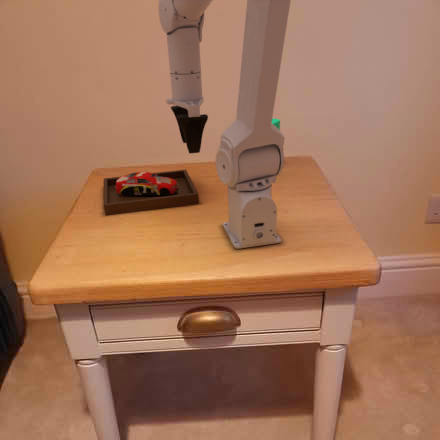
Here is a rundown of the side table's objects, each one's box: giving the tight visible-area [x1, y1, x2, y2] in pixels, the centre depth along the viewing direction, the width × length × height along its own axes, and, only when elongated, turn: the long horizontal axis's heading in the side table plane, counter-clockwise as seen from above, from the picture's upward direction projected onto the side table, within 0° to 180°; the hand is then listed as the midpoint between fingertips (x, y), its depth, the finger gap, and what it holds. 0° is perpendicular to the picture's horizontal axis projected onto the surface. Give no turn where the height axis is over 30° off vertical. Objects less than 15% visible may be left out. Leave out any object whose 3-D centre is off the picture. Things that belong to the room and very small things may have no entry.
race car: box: [115, 171, 178, 197], centre depth 89 cm, size 13×5×4 cm, turn 83°
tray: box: [103, 169, 200, 216], centre depth 90 cm, size 16×19×2 cm
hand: (191, 147), depth 86 cm, fingers open, 7 cm apart
